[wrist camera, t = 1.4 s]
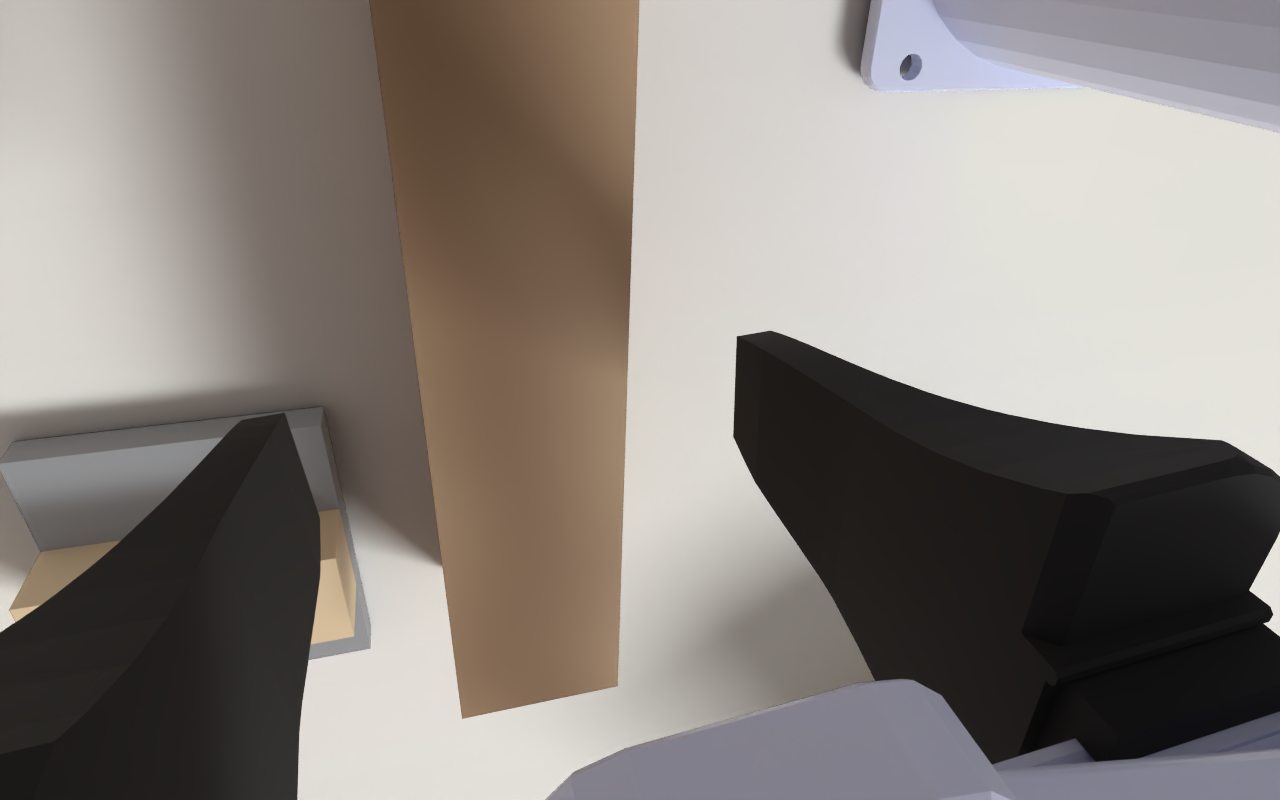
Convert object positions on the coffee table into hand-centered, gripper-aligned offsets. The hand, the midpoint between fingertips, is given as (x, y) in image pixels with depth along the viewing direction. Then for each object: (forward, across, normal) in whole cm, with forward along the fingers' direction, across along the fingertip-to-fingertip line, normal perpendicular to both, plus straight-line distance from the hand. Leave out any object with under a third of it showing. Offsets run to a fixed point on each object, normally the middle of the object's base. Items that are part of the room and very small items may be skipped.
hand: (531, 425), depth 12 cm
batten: (+6, 0, 0) cm, 6 cm away
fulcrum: (+6, +7, +6) cm, 11 cm away
